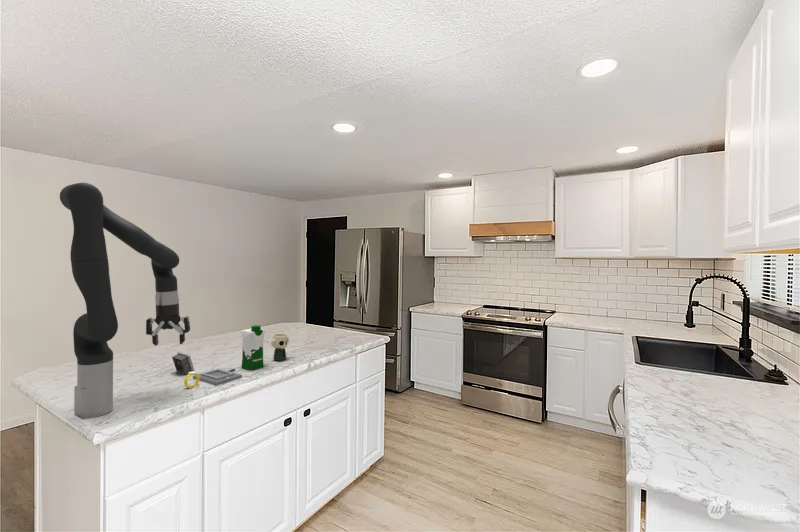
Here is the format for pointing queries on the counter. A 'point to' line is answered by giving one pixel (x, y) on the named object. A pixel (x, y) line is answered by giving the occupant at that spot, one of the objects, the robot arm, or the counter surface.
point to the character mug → (280, 345)
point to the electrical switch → (183, 363)
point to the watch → (189, 376)
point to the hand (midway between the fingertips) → (169, 344)
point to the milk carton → (252, 348)
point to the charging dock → (218, 376)
